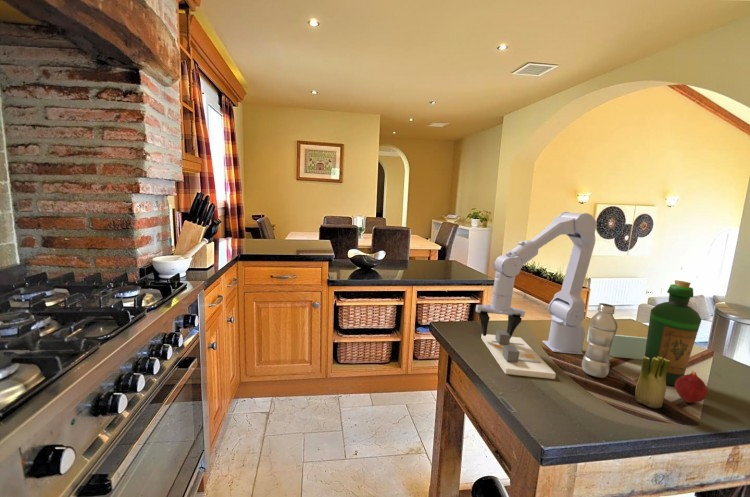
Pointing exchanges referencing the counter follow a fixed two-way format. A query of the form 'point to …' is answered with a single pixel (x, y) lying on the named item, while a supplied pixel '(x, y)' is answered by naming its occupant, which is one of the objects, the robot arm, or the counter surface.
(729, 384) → the counter surface
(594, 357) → the plastic bottle
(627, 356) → the l-shaped corner panel
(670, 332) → the bottle
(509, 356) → the switch
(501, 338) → the switch
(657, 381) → the fennel bulb
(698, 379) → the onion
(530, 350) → the switch console
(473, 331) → the counter surface
